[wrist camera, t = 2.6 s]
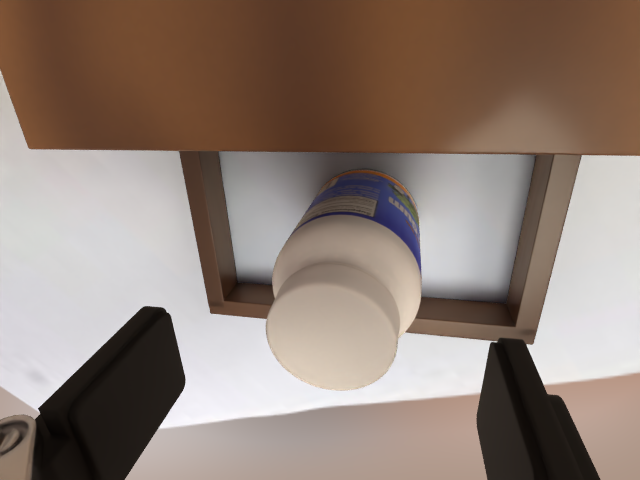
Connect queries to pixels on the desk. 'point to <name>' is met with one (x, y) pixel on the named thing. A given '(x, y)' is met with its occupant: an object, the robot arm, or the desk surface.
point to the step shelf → (337, 103)
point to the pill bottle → (347, 282)
